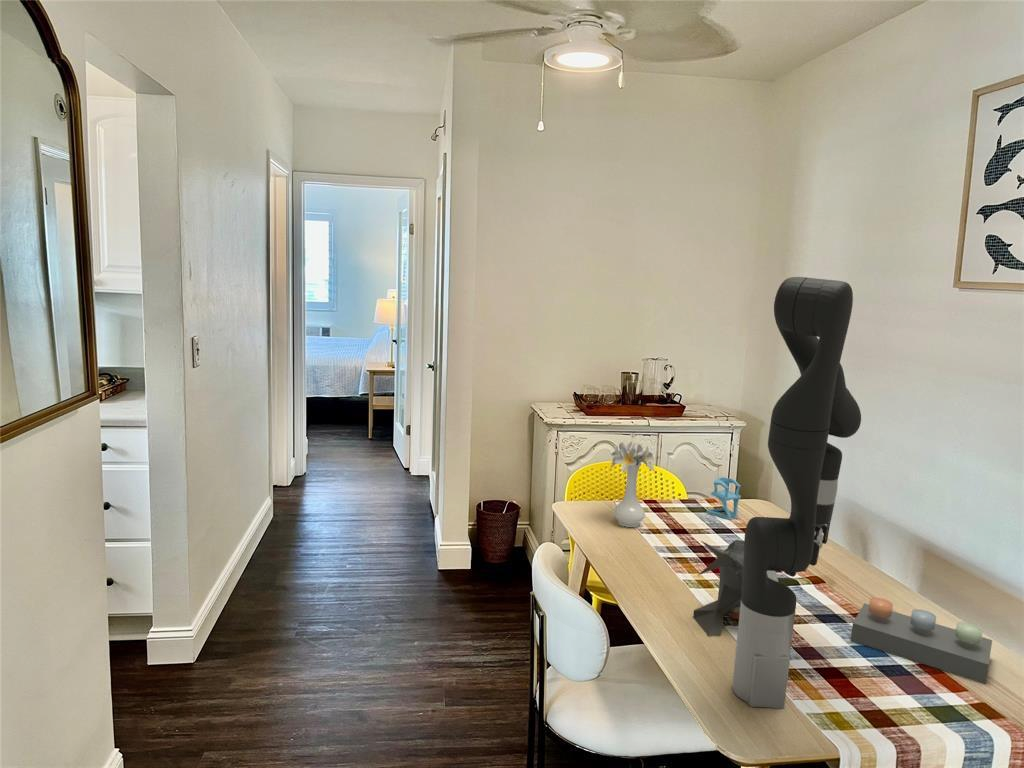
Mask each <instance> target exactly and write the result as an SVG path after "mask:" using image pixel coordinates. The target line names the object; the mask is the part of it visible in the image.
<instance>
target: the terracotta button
mask: <svg viewBox="0 0 1024 768" xmlns="http://www.w3.org/2000/svg"><path fill="white" fill-rule="evenodd" d="M868 604H869V609H868V611H869V612H870V613H871V614H873V615H875V616H878V617H882V618H889V617H891V615H892V611H893V608H894V607H893V604H894V603H892V602H891V601H890V600H887V599H885V598H881V597H870V599H869V603H868Z"/></svg>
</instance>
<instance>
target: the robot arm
mask: <svg viewBox="0 0 1024 768" xmlns="http://www.w3.org/2000/svg"><path fill="white" fill-rule="evenodd" d="M853 293H854V292H853V288H852V286H851V285H850V284H849V283H848V282H847V281H842V280H833V279H825V278H815V277H807V276H805V277H804V276H791V277H788V278H786V279H784V280H783V282H781V284H780V285H779V287H778V289H777V291H776V294H775V297H774V303H773V314H774V320H775V323H776V326H777V329H778V330H779V333H780V335H781V337H782V339H783V341H784V343H785V345H786V347H787V349H788V351H789V353H790V354H791V356H792V358H793V360H794V361H795V363H796V365H797V367H798V370H799V373H800V376H799V377H798V379H796V381H795V382H794V383H793V384H792V385H790V387H789V388H787V390H786V391H785V392H784V393H783V394H782V395H781V397H779V399H778V400H777V402H776V403H775V404H774V407H773V409H772V412H771V417H770V424H769V430H768V438H767V448H768V451H769V454H770V455H769V456H770V457H771V460H772V462H773V464H774V465H775V467H776V469H777V471H778V473H779V475H780V477H781V478H782V480H783V481H784V484H785V486H786V489H787V491H788V494H789V498H790V506H791V507H790V515H789V517H788V518H786V517H770V516H769V517H768V516H754V517H751V518H750V519H749V520H748V521H747V524H746V527H745V532H744V540H743V541H744V561H743V574H742V596H741V606H740V614H739V619H738V625H737V635H736V636H737V637H736V646H735V653H734V655H735V656H734V662H733V663H734V665H733V675H732V685H731V688H732V691H733V692H734V694H735V696H737V697H738V698H739V699H741V700H742V701H744V702H746V703H747V704H748V706H750V707H754V708H777V709H779V708H781V709H783V708H785V705H786V696H787V687H788V681H789V679H788V678H789V671H790V663H791V662H790V661H791V660H790V659H791V652H792V643H793V633H794V626H795V625H794V624H795V617H796V609H797V596H796V594H795V592H794V590H792V589H791V588H790V587H788V586H787V585H785V584H783V583H782V582H779V581H778V582H777V581H774V580H772V579H770V578H768V577H767V571H768V570H769V571H775V572H783V573H784V574H785V575H787V576H790V577H792V578H793V577H796V575H797V573H799V572H801V573H802V572H804V571H806V570H807V569H808V567H809V566H817V563H818V559H819V556H820V555H819V554H820V550H821V549H823V546H824V545H823V544H825V545H826V544H827V543H828V539H829V533H830V528H831V527H830V526H831V521H832V519H833V518H832V517H833V513H834V509H835V504H836V499H837V498H836V497H837V493H838V481H839V476H840V472H841V468H842V467H841V466H842V460H843V452H842V450H841V449H839V447H837V446H835V445H833V444H831V443H830V442H828V439H829V436H832V437H836V438H840V439H841V438H844V439H845V438H847V439H848V438H850V437H852V436H854V435H855V434H856V433H857V432H858V430H859V429H860V427H861V423H862V413H861V409H860V406H859V404H858V402H857V400H856V398H854V396H853V394H852V393H851V391H850V390H849V389H848V387H847V385H846V377H845V374H844V373H845V372H844V369H843V366H842V364H841V358H842V354H843V350H844V346H845V342H846V339H847V333H848V330H849V325H850V321H851V317H852V312H853V311H852V310H853V305H854V296H853Z"/></svg>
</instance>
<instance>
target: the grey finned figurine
mask: <svg viewBox="0 0 1024 768" xmlns="http://www.w3.org/2000/svg"><path fill="white" fill-rule="evenodd" d="M700 542H701V543H702V544H703V545H704V546H705V547H706V548H707V549H708V550H709V551H711V553H712V554H714V556H716V559H715V560H714V561H712V562H711V563H710V564H709V565H708V566H706V568H704V569H702V571H701V572H700V573H698V574H697V576H700V575H702V574H705V573H707V572H710V571H713V570H716V569H718V568H719V583H718V584H719V585H718V593H717V600H715V601H712V602H710V603H708V604H705V605H703V606H700V607H697V608H696V609H694V610H693V616H692V617H693V619H694V620H695V621H696V622H697V624H698V625H699V626H700V628H701V629H702V630H703V632H704V633H705V632H706V633H705V634H706V636H708V637H721V636H722V630H723V623H724V618H729V619H735V620H739V614H740V606H741V596H742V574H743V561H744V540H741V539H740V540H739V539H736V540H735V539H734V540H733V541H732V542H731V543H730V544H729V545H728V546H727V548H725V549H724V550H721V549H719V548H717V547H714V546H713V545H710V544H709V543H707V542H705V541H703V540H700ZM767 577H768V575H767Z"/></svg>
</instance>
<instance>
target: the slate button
mask: <svg viewBox="0 0 1024 768" xmlns="http://www.w3.org/2000/svg"><path fill="white" fill-rule="evenodd" d="M910 617H911V621H910V623H911V624H912V625H913V626H914V627H916V628H919V629H922V630H928V631H931V630H934V629H935V624H937V616H936V615H935V614H934V613H932V612H930V611H928V610H925V609H918V608H916V609H912V611H911V615H910Z"/></svg>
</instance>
